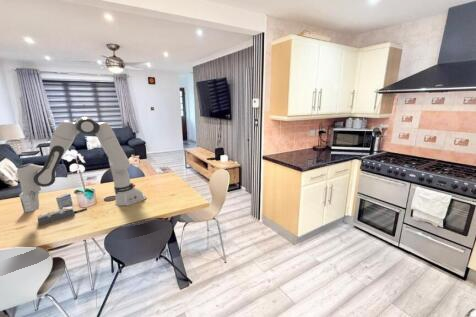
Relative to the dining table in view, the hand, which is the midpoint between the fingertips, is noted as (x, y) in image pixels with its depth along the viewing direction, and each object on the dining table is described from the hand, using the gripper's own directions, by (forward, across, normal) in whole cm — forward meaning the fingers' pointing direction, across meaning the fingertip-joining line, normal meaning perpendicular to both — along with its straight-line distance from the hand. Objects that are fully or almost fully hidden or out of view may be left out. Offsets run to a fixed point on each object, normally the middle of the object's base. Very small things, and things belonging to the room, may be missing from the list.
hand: (37, 208), depth 145 cm
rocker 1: (+6, 0, -2) cm, 6 cm away
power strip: (+11, +2, -12) cm, 17 cm away
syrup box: (+11, +30, +5) cm, 32 cm away
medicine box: (+11, +20, -15) cm, 27 cm away
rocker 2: (+6, 0, -8) cm, 10 cm away
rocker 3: (+6, 0, -15) cm, 16 cm away
